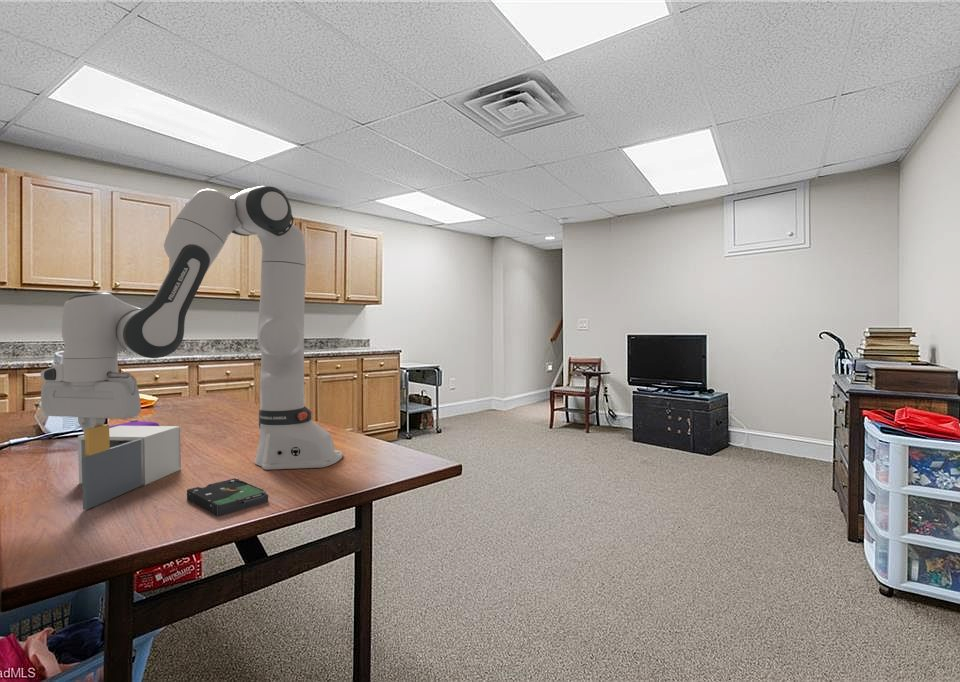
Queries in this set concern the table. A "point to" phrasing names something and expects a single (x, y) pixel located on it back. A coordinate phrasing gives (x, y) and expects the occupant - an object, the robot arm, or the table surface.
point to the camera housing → (146, 448)
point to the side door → (109, 467)
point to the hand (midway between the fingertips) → (92, 438)
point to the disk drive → (227, 496)
